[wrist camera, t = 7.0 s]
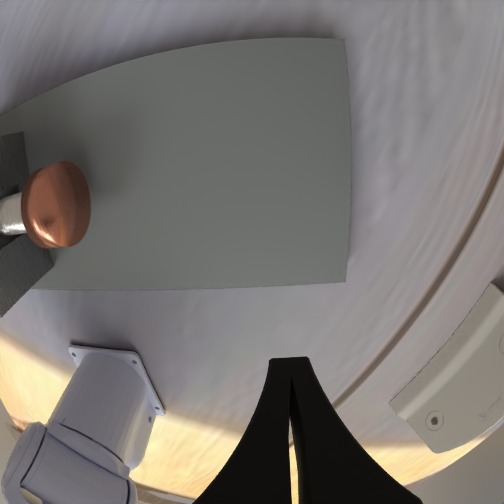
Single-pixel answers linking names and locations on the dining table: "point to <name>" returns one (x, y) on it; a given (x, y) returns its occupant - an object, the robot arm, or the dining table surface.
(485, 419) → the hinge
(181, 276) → the base plate
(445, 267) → the dining table surface
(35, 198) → the shaft
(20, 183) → the bearing block
